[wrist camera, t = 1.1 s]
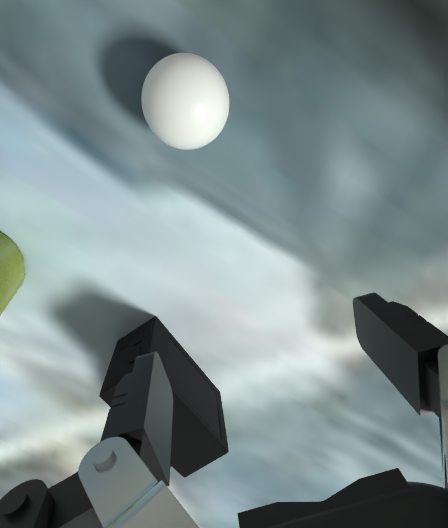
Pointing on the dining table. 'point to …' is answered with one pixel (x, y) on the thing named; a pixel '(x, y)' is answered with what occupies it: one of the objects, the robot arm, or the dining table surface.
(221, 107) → the cue ball
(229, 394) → the dining table surface
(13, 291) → the plant pot
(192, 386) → the digital camera
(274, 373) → the dining table surface
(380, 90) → the dining table surface
